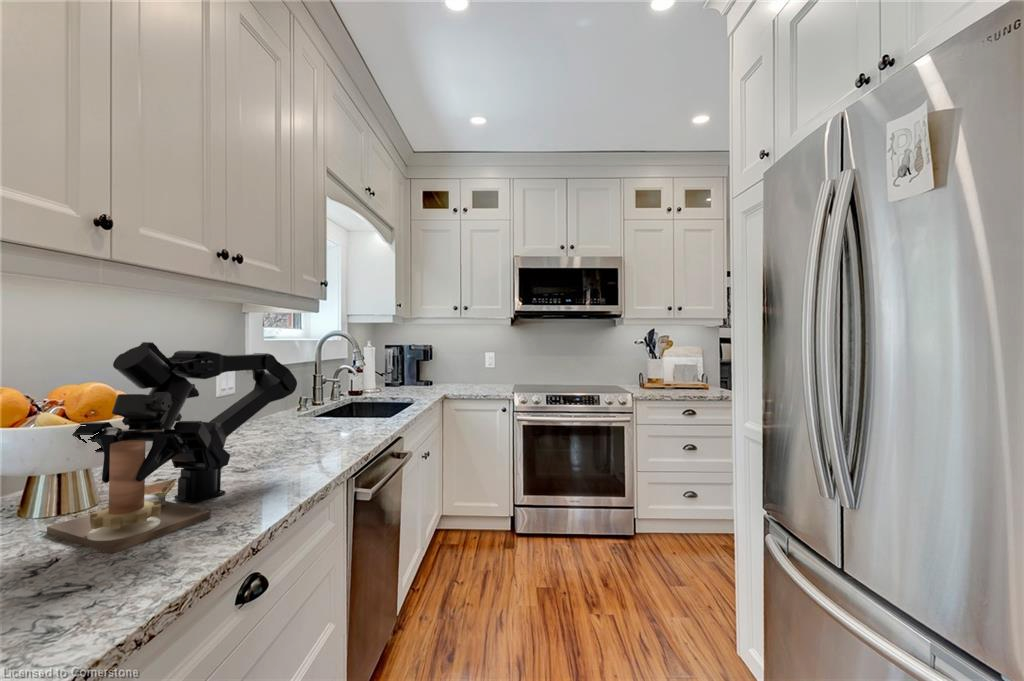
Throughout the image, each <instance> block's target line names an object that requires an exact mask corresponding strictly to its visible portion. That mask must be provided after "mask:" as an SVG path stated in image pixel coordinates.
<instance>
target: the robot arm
mask: <svg viewBox="0 0 1024 681" xmlns="http://www.w3.org/2000/svg"><path fill="white" fill-rule="evenodd" d="M112 366H113V368H114V369H115V370H117V371H118V372H119V373H120V374H121V375H122V376H124V377H125V378H126V379H127V380H129V382H131V383H132V384H134V385H135V386H136V387H137V388H138V389H142V390H145V389H146V390H147V389H151V390H150V391H149V393H148V394H144V393H143V394H142V393H135V394H134V393H130V394H129V393H128V394H127V393H122V394H121V393H120V394H117V397H116V399H115V402H114V405H113V408H112V411H111V414H112V415H118V416H119V417H122V418H123V419H122V420H121V422H122V423H123V425H124V426H128V428H127V429H126V428H125V429H124V428H123V429H122V428H120V427H116V426H115V427H114V426H113V425H112V424H111V423H110V422H109V421H95V422H94V421H93V422H92V421H90V422H89V421H87V422H82V423H80V424H79V425H86V426H80V427H79V428H78V429H76V428H75V430H76V431H75V430H74V431H75V432H73V433H72V434H71V435H72V437H74V436H75V437H77V438H78V439H79V440H82V441H83V442H85V443H87V442H86V441H85V440H84V439H81V437H80V435H94V434H96V433H98V432H99V433H98V434H96V435H94V436H93V437H90V438H91V439H88V440H91V441H92V442H97V443H98V444H99V445H100V446H101V448H99V449H97V450H95V451H96V452H95V453H103V464H102V475H101V481H102V482H103V483H104V484H107V483H108V484H109V468H110V444H112V443H115V442H120V441H127V440H145V441H146V442H147V443H149V442H150V443H151V442H152V443H151V444H152V445H151V448H150V450H149V451H148V453H147V455H146V456H145V460H144V462H143V464H142V466H141V468H140V470H139V472H138V474H137V477H136V480H137V481H138V482H141V481H143V480H144V479H146V478H148V477H149V476H150V475H152V474H153V473H154V472H155V471H157V470H158V469H159V468H161V467H162V466H163V465H164V464H166V463H167V462H169V461H170V460H171V462H172V465H173V467H174V469H180V477H178V478H177V494H176V495H174V499H175V500H179V501H185V502H189V503H193V504H194V503H195V504H196V503H200V502H202V501H206V500H209V499H212V498H215V497H217V496H221V495H225V494H226V490H223V489H221V481H222V480H221V479H222V469H223V468H224V467H226V466H228V465H229V461H230V458H231V454H230V453H229V452H228V451H226V450H225V449H224V447H225V444H226V442H227V441H226V440H227V438H228V436H230V435H231V434H232V433H234V432H235V431H237V430H238V429H239V428H240V427H241V426H243V424H245V423H246V422H248V421H249V420H250V419H251V418H253V417H254V416H255V415H257V413H258V412H261V410H262V409H264V408H265V407H266V406H268V404H270V403H273V402H276V401H280V400H283V399H285V398H287V397H289V396H291V395H293V393H295V391H296V389H297V386H298V381H297V378H296V377H295V375H294V374H293V373H292V371H291V370H290V369H289V368H288V367H286V366H285V365H284V364H282V363H280V362H279V361H278V360H277V358H276V357H275V356H274V355H273V354H271V353H266V352H265V353H263V352H262V353H261V352H257V353H256V352H253V353H252V354H251V353H249V354H247V353H246V354H244V353H243V354H221V353H219V352H213V351H208V350H182V349H181V350H177V351H175V352H174V354H172V356H168V357H167V356H166V355H165V353H163V352H162V351H161V350H160V349H159V347H158V346H157V345H156V344H155V343H154V342H151V341H150V342H147V341H143V342H141V343H140V344H139V345H138V346H134V347H132V348H130V349H127V350H126V351H124V352H123V353H120V354H119V355H118V356H116V358H115V359H114V361H113V362H112ZM265 370H266V371H265ZM240 371H241V372H242V371H252V380H253V381H254V387H253V389H252V390H251V391H250V392H249V393H247V394H246V395H245V396H243V397H241V398H240V399H238V400H237V401H236V402H235V403H233V404H232V405H231V406H229V407H227V408H226V409H225V410H223V411H222V412H221V413H219V414H218V415H217V416H215V417H214V418H213V419H211V420H209V421H207V422H206V421H202V420H181V419H182V417H183V416H182V414H181V413H180V412H181V411H182V408H183V407H184V405H185V403H186V400H187V399H191V398H198V397H199V396H200V392H199V390H198V389H197V388H196V384H195V383H191V382H190V381H189V380H194V379H195V380H207V379H211V378H214V377H218V376H220V375H222V374H223V373H228V372H240ZM188 379H189V380H188ZM75 437H74V438H75Z"/></svg>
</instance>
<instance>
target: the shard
mask: <svg viewBox="0 0 1024 681" xmlns="http://www.w3.org/2000/svg"><path fill="white" fill-rule="evenodd" d="M177 480H178V478H177V477H175V478H173V479H169V480H165V481H161V482H157V483H152V484H148V485H145V492H144V495H149V494H151V493H157V496H163V495H165V496H167V493H168V492H169V491H170V490H171V489H173V488H174V487H175V485H176V484H175V482H176V481H177Z"/></svg>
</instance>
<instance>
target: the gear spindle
mask: <svg viewBox="0 0 1024 681" xmlns="http://www.w3.org/2000/svg"><path fill="white" fill-rule="evenodd" d="M145 459H146V441H145V440H127V441H120V442H115V443H112V444H110V468H109V482H108V502H109V506H108V505H106V506H107V508H106V509H104V510H103V509H102V510H97V511H93V512H91V513H90V514H89V515H90V524H91V528H92V529H98V528H101V527H110V529H118V528H120V527H121V526H124V525H129V524H133V523H138V524H140V523H143V522H146V521H147V518H149V517H151V516H157V515H159V514H160V513H161V504H159V500H152V501H144V492H145V486H146V485H145V479H146V478H145V479H144V480H143V481H141V482H138V481H137V480H136V477H137V474H138V472H139V470H140V468H141V466H142V464H143V462H144V460H145Z"/></svg>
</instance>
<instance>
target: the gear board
mask: <svg viewBox="0 0 1024 681" xmlns="http://www.w3.org/2000/svg"><path fill="white" fill-rule="evenodd" d="M152 500H159V504H161V513H160V514H159V515H157V516H151V517H149V518H147V521H146V522H143V523H140V524H138V523H133V524H129V525H124V526H121V527H120V528H118V529H110V527H101V528H98V529H92V528H91V524H90V514H87V515H84V516H80V517H76V518H74V519H70V520H66V521H65V520H64V521H62V522H59V523H55V524H52V525H48V526H46V535H49V536H51V537H56V538H58V539H61V540H65V541H67V542H72V543H75V544H77V545H81V546H83V545H84V547H86V546H87V547H86V548H89V547H91V548H90V549H92V548H93V550H96V551H99V550H100V552H102V553H105V552H106V553H105V554H109V555H111V554H114V553H117V552H119V551H122V550H125V549H128V548H131V547H133V546H136V545H139V544H143V543H144V542H147V541H151V540H153V539H155V538H158V537H161V536H164V535H166V534H168V533H172V532H174V531H177V530H180V529H183V528H186V527H188V526H191V525H194V524H197V523H199V521H200V522H203V521H205V520H208V519H210V518H211V510H207V509H203V508H198V507H194V506H190V505H186V504H180V503H177V502H174V501H173V502H172V501H168V500H166V495H163V496H157V493H151V494H149V495H144V501H152ZM107 503H108V505H105V506H102V510H104V509H106V508H107V506H109V501H108V502H107ZM207 518H208V519H207ZM202 520H203V521H202Z"/></svg>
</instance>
